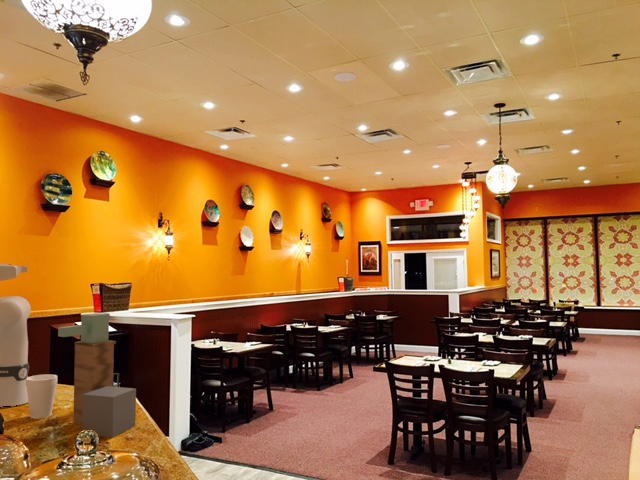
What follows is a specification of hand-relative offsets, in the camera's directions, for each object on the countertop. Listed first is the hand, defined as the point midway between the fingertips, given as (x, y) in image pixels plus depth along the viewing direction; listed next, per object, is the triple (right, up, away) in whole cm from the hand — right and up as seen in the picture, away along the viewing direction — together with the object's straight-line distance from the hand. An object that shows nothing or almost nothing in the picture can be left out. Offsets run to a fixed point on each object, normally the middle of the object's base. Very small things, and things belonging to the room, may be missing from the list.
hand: (18, 268), depth 166 cm
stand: (+20, -51, +7) cm, 55 cm away
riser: (+29, -50, -1) cm, 58 cm away
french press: (+16, -52, +23) cm, 59 cm away
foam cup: (0, -51, +13) cm, 53 cm away
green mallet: (+18, -25, +5) cm, 31 cm away
